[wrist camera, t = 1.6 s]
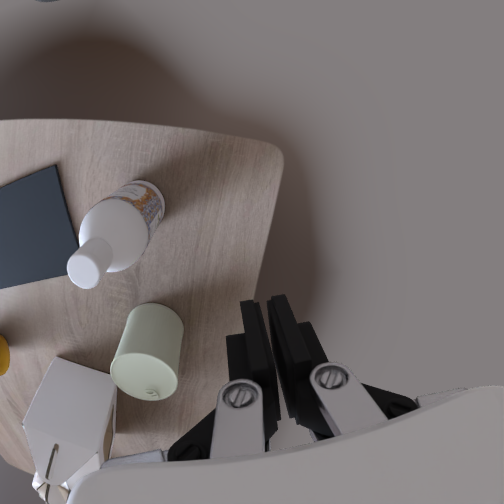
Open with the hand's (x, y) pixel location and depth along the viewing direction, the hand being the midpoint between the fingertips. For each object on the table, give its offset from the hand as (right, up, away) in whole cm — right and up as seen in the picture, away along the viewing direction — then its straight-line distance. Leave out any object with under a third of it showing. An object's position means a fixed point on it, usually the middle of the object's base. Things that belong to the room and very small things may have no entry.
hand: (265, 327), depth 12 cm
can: (-16, -9, +34) cm, 38 cm away
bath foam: (-15, +9, +26) cm, 32 cm away
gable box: (-35, -28, +39) cm, 59 cm away
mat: (-37, +6, +25) cm, 45 cm away
